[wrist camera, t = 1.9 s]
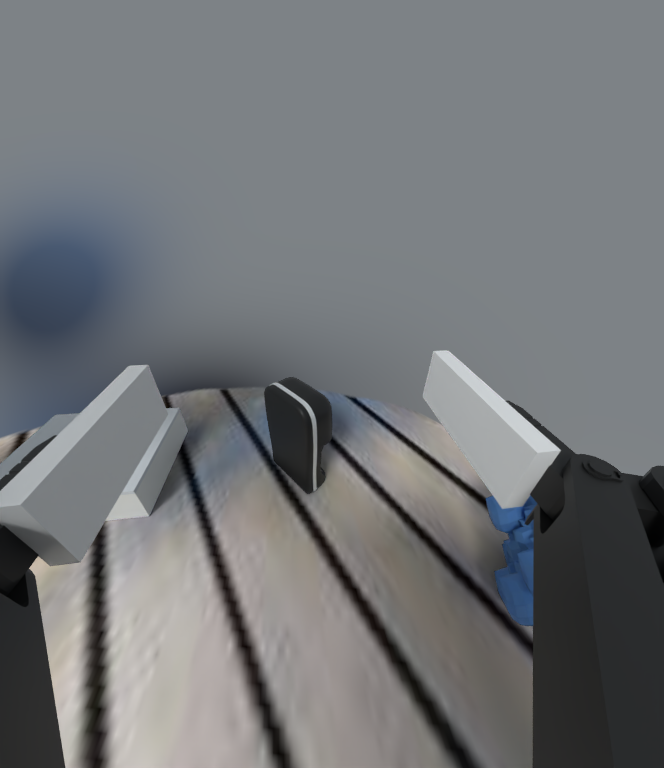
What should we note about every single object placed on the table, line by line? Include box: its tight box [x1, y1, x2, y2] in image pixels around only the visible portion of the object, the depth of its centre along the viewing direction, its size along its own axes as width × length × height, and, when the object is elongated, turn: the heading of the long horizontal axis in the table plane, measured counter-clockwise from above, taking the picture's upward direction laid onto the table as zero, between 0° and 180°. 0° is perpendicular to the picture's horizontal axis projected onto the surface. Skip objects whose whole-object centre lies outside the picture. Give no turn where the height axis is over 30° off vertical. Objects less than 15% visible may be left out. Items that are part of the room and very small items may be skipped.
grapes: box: [486, 495, 537, 626], centre depth 20 cm, size 12×7×12 cm, turn 139°
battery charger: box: [264, 377, 332, 494], centre depth 28 cm, size 7×4×11 cm, turn 45°
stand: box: [0, 407, 188, 521], centre depth 29 cm, size 14×12×4 cm
